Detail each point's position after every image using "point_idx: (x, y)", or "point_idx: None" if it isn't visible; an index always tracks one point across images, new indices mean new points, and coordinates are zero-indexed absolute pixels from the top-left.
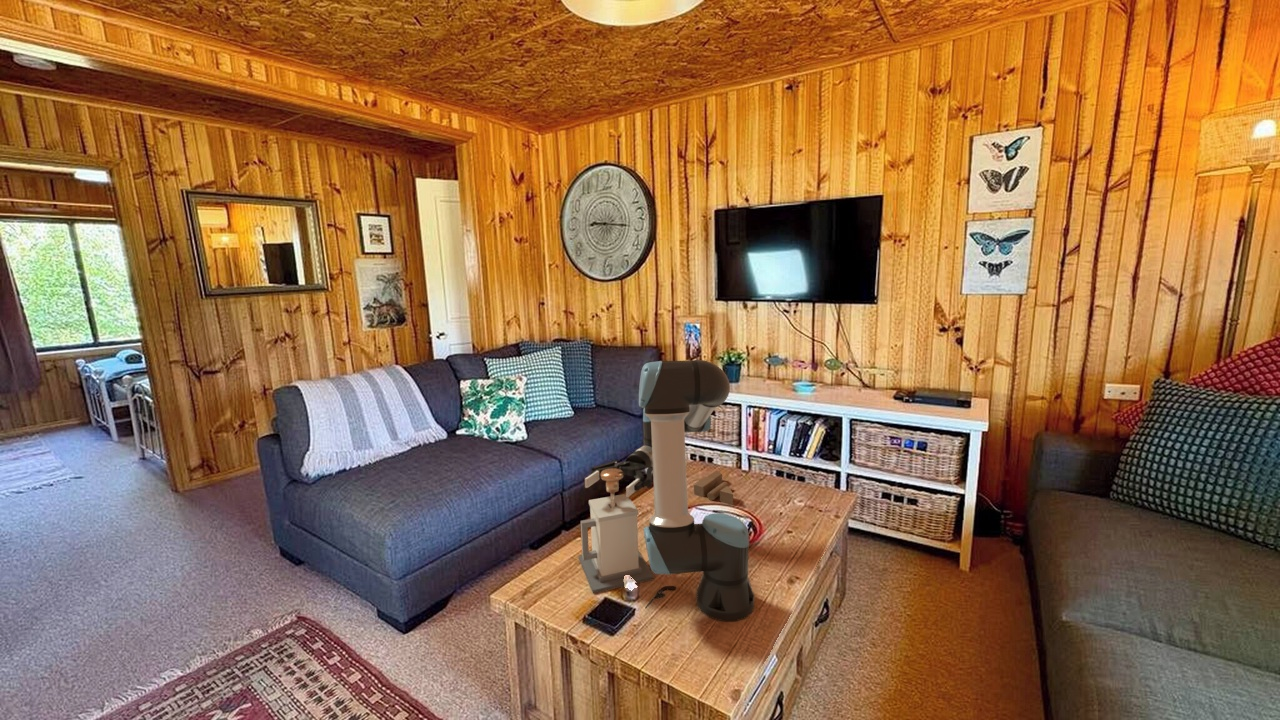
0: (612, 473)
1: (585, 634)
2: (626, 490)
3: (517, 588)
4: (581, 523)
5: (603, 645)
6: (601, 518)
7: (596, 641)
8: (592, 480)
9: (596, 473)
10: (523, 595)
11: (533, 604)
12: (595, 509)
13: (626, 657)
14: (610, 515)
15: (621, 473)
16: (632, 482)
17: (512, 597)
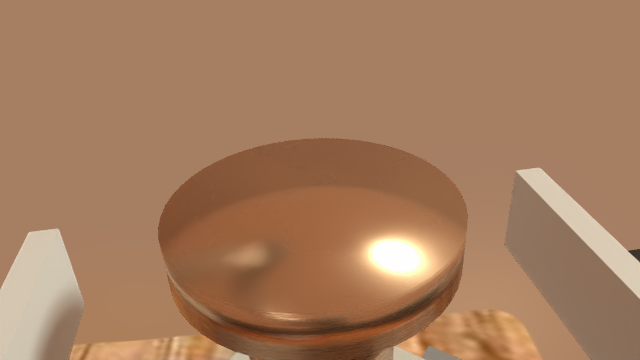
0: (291, 199)
1: (201, 342)
2: (62, 255)
3: (529, 349)
4: (438, 353)
5: (134, 342)
6: None
7: (159, 342)
8: (557, 272)
9: (622, 291)
10: (480, 341)
11: (418, 335)
12: (393, 356)
13: None
14: (239, 355)
15: (177, 241)
16: (14, 326)
17: (494, 321)
